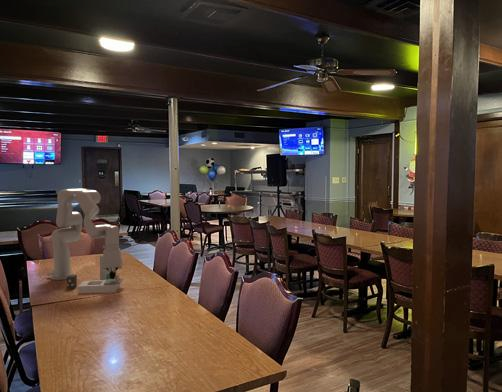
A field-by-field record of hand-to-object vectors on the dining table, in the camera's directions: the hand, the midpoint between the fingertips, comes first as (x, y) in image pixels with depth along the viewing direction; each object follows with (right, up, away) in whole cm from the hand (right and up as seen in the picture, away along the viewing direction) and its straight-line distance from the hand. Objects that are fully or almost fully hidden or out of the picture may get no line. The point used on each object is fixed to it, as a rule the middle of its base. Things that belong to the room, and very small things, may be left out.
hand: (112, 278), depth 222 cm
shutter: (+1, -2, 0) cm, 2 cm away
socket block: (-7, -6, -1) cm, 10 cm away
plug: (-25, -6, +3) cm, 26 cm away
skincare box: (-11, -5, +22) cm, 25 cm away
